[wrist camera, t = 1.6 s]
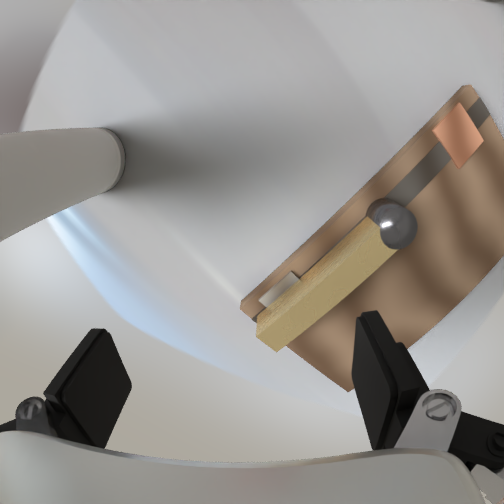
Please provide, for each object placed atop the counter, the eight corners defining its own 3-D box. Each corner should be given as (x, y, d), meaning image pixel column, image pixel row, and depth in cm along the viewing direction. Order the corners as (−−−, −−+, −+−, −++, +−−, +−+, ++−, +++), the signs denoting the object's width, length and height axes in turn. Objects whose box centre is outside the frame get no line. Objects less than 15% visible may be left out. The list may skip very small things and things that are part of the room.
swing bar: (384, 190, 23) (402, 199, 20) (405, 217, 24) (424, 229, 21) (254, 310, 28) (252, 333, 24) (278, 330, 28) (280, 354, 25)
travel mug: (87, 115, 24) (-102, 130, 5) (138, 147, 25) (-60, 193, 6) (61, 171, 26) (-107, 235, 7) (108, 204, 27) (-59, 309, 8)
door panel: (462, 85, 21) (472, 84, 19) (527, 210, 24) (537, 214, 23) (241, 301, 30) (239, 310, 28) (345, 383, 33) (348, 394, 32)
